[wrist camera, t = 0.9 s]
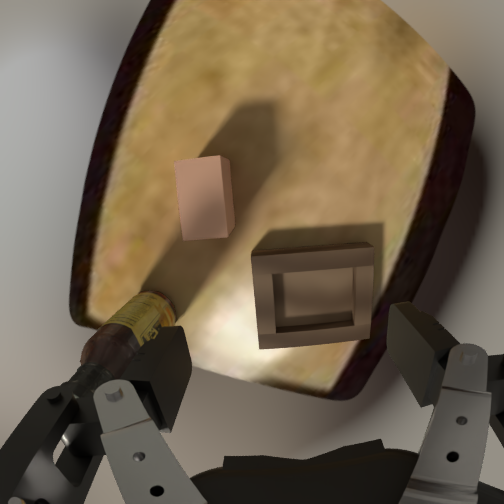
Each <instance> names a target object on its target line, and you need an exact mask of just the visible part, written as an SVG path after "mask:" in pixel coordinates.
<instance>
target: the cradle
mask: <svg viewBox="0 0 504 504" xmlns="http://www.w3.org/2000/svg"><path fill="white" fill-rule="evenodd" d="M251 263H252V274H253V285H254V296H255V307H256V318H257V329H258V340H259V349H274V348H288V347H300V346H310V345H320V344H329V343H338V342H346V341H354V340H361V339H368V338H369V337H370V326H371V314H372V299H373V278H374V247H373V246H372V245H370V244H369V243H367V242H362V243H349V244H335V245H322V246H309V247H295V248H282V249H269V250H255V251H252V253H251Z"/></svg>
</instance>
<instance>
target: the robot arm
mask: <svg viewBox="0 0 504 504" xmlns="http://www.w3.org/2000/svg"><path fill="white" fill-rule="evenodd" d="M387 349H388V352H389V355H390V356H391V358H392V359H393V361H394V363H395V365H396V366H397V368H398V369H399V371H400V373H401V374H402V376H403V378H404V379H405V381H406V383H407V385H408V386H409V388H410V390H411V391H412V393H413V395H414V396H415V398H416V400H417V402H418V404H419V405H420V407H424V406H428V405H430V404H433V406H434V409H433V412H432V415H431V418H430V422H429V425H428V427H427V430H426V433H425V436H424V438H423V441H422V444H421V446H420V449H419V451H418V453H415V452H411V451H407V450H401V449H385V448H384V446H383V443H382V440H381V439H377V440H373V441H368V442H364V443H359V444H354V445H349V446H344V447H341V448H338V449H336V450H333V451H330V452H327V453H325V454H322V455H319V456H316V457H313V458H310V459H306V460H298V459H289V458H280V457H272V456H264V455H260V456H224V462H223V467H219V468H214V469H211V470H207V471H205V472H202V473H199V474H197V475H195V476H193V477H191V478H189V477H188V476H187V474H186V473H185V471H184V470H183V468H182V467H181V465H180V464H179V462H178V461H177V459H176V458H175V456H174V454H173V453H172V451H171V450H170V448H169V447H168V445H167V443H166V442H165V440H164V438H163V437H162V435H161V433H160V432H165V433H171V431H172V428H173V425H174V422H175V419H176V416H177V414H178V411H179V408H180V405H181V402H182V399H183V396H184V393H185V390H186V388H187V385H188V382H189V379H190V376H191V372H192V362H191V357H190V353H189V349H188V345H187V341H186V337H185V333H184V330H183V328H182V326H163V327H162V328H161V329H160V331H159V332H158V334H157V335H156V337H155V339H150V340H149V341H147V342H146V343H145V344H143V345H142V346H141V347H140V349H139V350H138V352H137V355H135V356H134V358H133V359H132V361H131V362H130V364H129V365H128V367H127V368H126V370H125V371H124V373H123V374H122V376H121V377H120V379H119V380H112V381H109V382H106V383H104V384H102V385H101V386H99V387H98V388H97V389H96V391H95V392H94V396H92V397H82V398H75V396H74V394H73V392H72V390H71V389H70V388H69V387H66V386H56V387H52V388H50V389H48V390H46V391H45V392H44V393H42V395H41V396H40V397H39V398H38V399H37V401H36V402H35V403H34V405H33V406H32V407H31V409H30V410H29V411H28V412H27V414H26V415H25V416H24V418H23V419H22V420H21V422H20V423H19V424H18V426H17V427H16V428H15V430H14V431H13V433H12V434H11V435H10V437H9V438H8V440H7V441H6V442H5V444H4V445H3V446H2V448H1V449H0V504H84V501H85V499H86V496H87V494H88V491H89V489H90V487H91V484H92V481H93V479H94V477H95V474H96V472H97V470H98V467H99V465H100V463H101V460H102V458H103V456H104V455H107V458H108V461H109V464H110V467H111V469H112V472H113V475H114V477H115V480H116V482H117V485H118V487H119V490H120V492H121V494H122V497H123V499H124V501H125V504H504V491H503V490H500V489H498V488H495V487H493V486H490V485H487V484H485V483H482V482H480V481H479V477H480V473H481V468H482V463H483V458H484V453H485V447H486V441H487V435H488V427H489V424H490V426H491V427H492V429H493V431H494V432H495V434H496V435H497V437H498V439H499V441H500V442H501V444H502V446H503V447H504V354H502V355H491V356H488V355H487V353H486V351H485V350H484V349H482V348H481V347H479V346H477V345H474V344H467V343H466V344H460V343H459V342H458V341H457V340H456V339H455V338H454V337H453V336H452V335H451V334H450V333H449V332H448V331H447V330H446V329H444V327H443V326H442V325H441V324H439V322H438V321H437V320H436V319H435V318H434V317H433V316H431V315H429V314H427V313H425V312H422V311H421V312H420V311H419V310H418V309H417V308H416V307H415V306H414V305H413V304H412V303H411V302H403V303H398V304H392V305H391V306H390V310H389V321H388V333H387ZM60 439H61V440H62V442H63V443H64V445H65V448H64V449H63V451H62V453H61V455H60V457H59V458H58V460H57V462H56V464H54V462H53V452H54V450H55V448H56V446H57V444H58V443H59V441H60Z"/></svg>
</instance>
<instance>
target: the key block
mask: <svg viewBox="0 0 504 504" xmlns="http://www.w3.org/2000/svg"><path fill="white" fill-rule="evenodd" d="M174 165H175V176H176V186H177V195H178V204H179V213H180V221H181V229H182V237H183V241H189V240H201V239H213V238H225V237H228V236H229V235H230V233H231V231H232V230H233V228H234V226H235V225H236V224H235V213H234V203H233V192H232V182H231V171H230V160H229V159H227V158H225V157H223V156H220V155H218V156H209V157H202V158H194V159H187V160H180V161H174Z"/></svg>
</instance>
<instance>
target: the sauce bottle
mask: <svg viewBox="0 0 504 504" xmlns="http://www.w3.org/2000/svg"><path fill="white" fill-rule="evenodd" d="M175 322H176V313H175V309H174V305H173V304H172V302H171V301H170V300H169V299H168V298H167V297H166V296H164V295H163V294H162V293H160V292H156V291H143V292H140V293H139V294H138V295H136V296H134V297H133V298H132V299H131V300H130V301H129V302H127V303H126V304H125V305H124V306H123V307H122V308H121V309H120V310H119V311H117V312H116V313H115V314H114V315H113V316H112V317H111V318H110V319H109V320H108V321H106V322H105V323H104V324H103V325H102V326H101V327H100V328H99V329H98V330H97V332H96V333H95V334H94V335H93V336H92V337H91V338H90V339H89V340H88V341H87V343H86V344H85V346H84V348H83V351H82V355H81V360H80V362H81V366H80V367H79V368H78V369H77V372H76V373H75V374H74V375H73V376H72V377H71V379H70V380H69V381H68V382H65V383H62V384H61V385H60V386H66V387H69V388H70V389H71V390H72V392H73V394H74V396H75V398H82V397H92V396H94V392H95V391H96V389H97V388H98V387H99V386H101V385H102V384H104V383H106V382H109V381H112V380H119V379H120V377H121V376H122V374H123V373H124V371H125V370H126V368H127V367H128V365H129V364H130V362H131V361H132V359H133V358H134V356H135V355H137V352H138V350H139V349H140V347H141V346H142V345H143V344H145V343H146V342H147V341H149V340H150V339H155V337H156V335H157V334H158V332H159V331H160V329H161V328H162V327H163V326H174V325H175Z"/></svg>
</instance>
